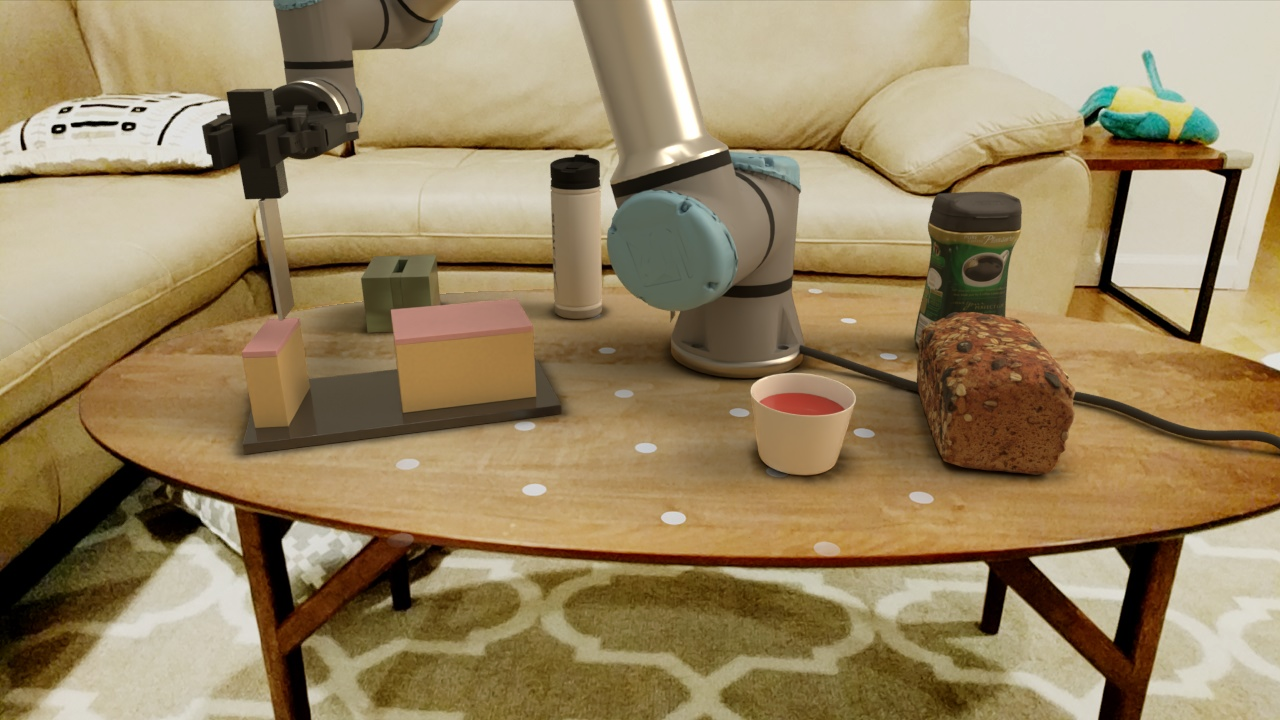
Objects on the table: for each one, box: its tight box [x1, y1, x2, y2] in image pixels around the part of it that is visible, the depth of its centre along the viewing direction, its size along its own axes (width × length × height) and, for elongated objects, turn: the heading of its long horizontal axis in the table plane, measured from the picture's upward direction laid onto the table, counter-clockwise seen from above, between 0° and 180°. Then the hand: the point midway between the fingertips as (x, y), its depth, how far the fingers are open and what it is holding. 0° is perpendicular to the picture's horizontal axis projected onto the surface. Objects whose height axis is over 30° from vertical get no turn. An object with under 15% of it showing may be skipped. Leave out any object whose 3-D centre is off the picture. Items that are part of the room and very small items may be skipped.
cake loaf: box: [391, 297, 536, 413], centre depth 87 cm, size 13×9×8 cm
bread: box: [916, 312, 1077, 476], centre depth 81 cm, size 19×11×10 cm, turn 170°
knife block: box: [360, 254, 441, 334], centre depth 110 cm, size 8×10×7 cm
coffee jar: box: [913, 191, 1023, 347], centre depth 99 cm, size 10×8×19 cm
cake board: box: [242, 354, 562, 455], centre depth 87 cm, size 29×14×1 cm, turn 107°
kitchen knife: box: [226, 88, 295, 321], centre depth 77 cm, size 3×4×20 cm
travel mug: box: [549, 153, 603, 320], centre depth 111 cm, size 6×7×20 cm
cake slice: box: [241, 317, 310, 428], centre depth 83 cm, size 3×9×8 cm, turn 7°
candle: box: [749, 372, 857, 476], centre depth 76 cm, size 9×9×6 cm
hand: (239, 151), depth 70 cm, fingers closed on kitchen knife, 3 cm apart
